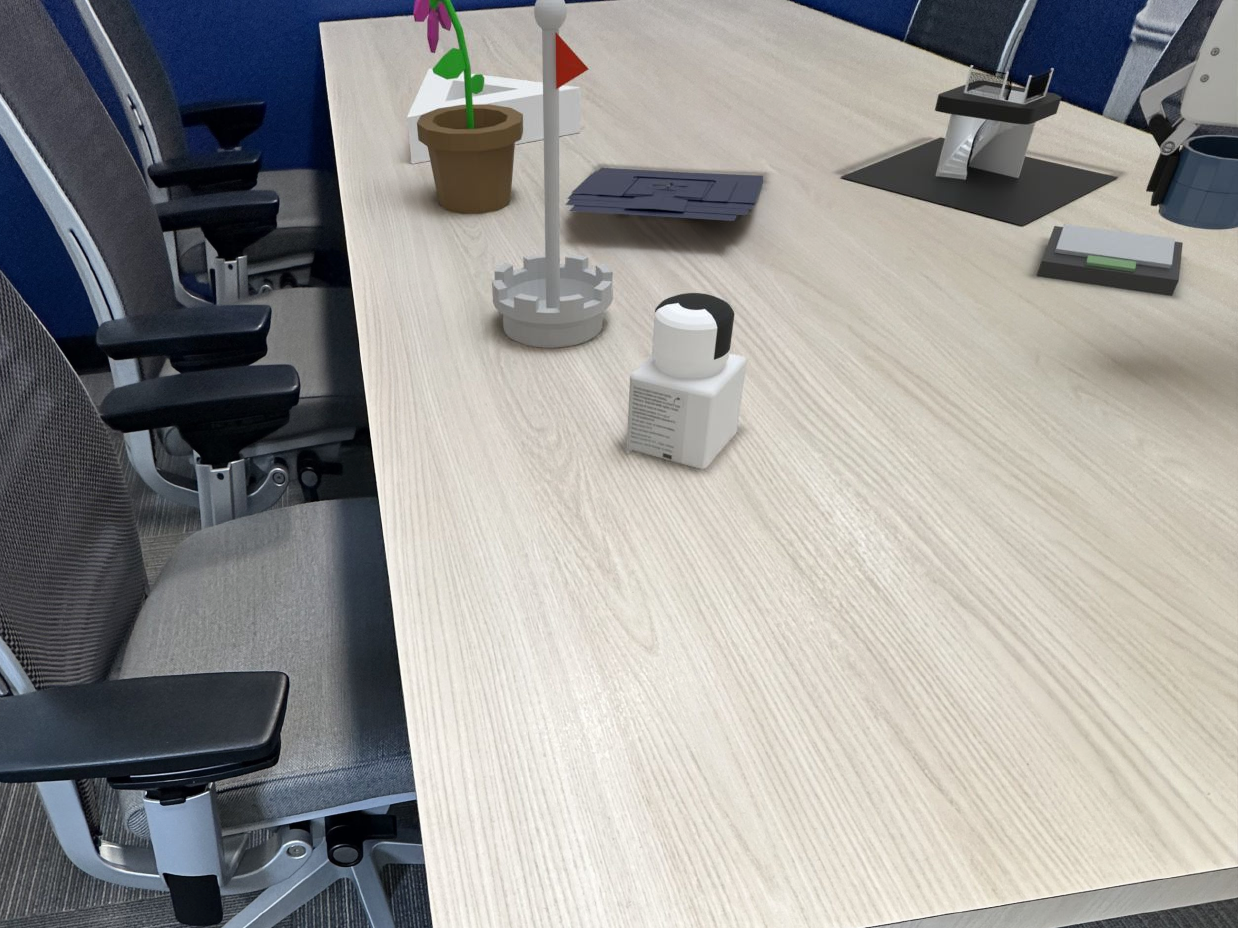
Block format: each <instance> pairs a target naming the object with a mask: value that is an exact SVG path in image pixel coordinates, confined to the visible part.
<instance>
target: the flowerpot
mask: <svg viewBox="0 0 1238 928" xmlns="http://www.w3.org/2000/svg"><path fill="white" fill-rule="evenodd" d="M412 15H413V19H414V20H413V21H414V22H415V23H424V22H425V21H426V38H427V39H426V40H427V43H428V47H429V50H430V53H431V54H436V52H437V47H438V44H439V41H440V35H439V34H440V26H441V28H442V29H444V30H446V31H449V32H450V31H451V29H452V26H453V28H454V31H455V35H456V39H457V44H458V48H457V47H456V48H455V47H452V48H451V49H449V50H448V51H447V52H445V53H444V54H443V56H442V57H441V58H440V59H439V60H438V61H437V63H436V64H435V65H434V67H432V69H433V73H434V74H436V75H438V76H441V77H443V78H445V79H455V78H458V77H459V76H460V74H461V73H462V72H463V73H464V84H465V100H466V105H457V106H451V107H445V108H438V109H436V110H433V111H430V112H428V113H425V114H423V115H421V116H420V118H419V120H418V122H417V130H418V140H419V141H420V142H422V143H423V144H424V145H426V146H427V147H428V152H429V157H430V161H429V162H430V166H431V171H432V176H433V180H434V181H433V182H434V185H435V191H436V195H437V201H438V205H439V206H440V207H441V208H442V209H444V210H445V211H449V212H454V213H458V214H485V213H491V212H495V211H499V210H501V209H503V208H505V207H507V206H509V205H510V202H511V199H512V186H513V175H514V174H513V173H514V161H515V149H516V148H515V147H516V145H515V142H517V141H519V140H521V138H522V134H523V114H521V113H520V112H518V111H516V110H514V109H512V108H509V107H503V106H496V105H490V104H480V105H473V101H472V93H474V94H478V93H480V92H482V91H483V86H484V77H483V75H484V74H479V73H478V74H477V73H474V74H475V75H474V76H473V77H471V74H472V70H471V62H470V58H469V52H468V48H467V43H466V37H465V33H464V29H463V26H462V24H461V21H460V19H459V17H458V15H457V13H456V10H455V8H454V6H453V3H452V1H451V0H414V5H413V14H412ZM426 19H427V20H426Z"/></svg>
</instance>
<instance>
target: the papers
mask: <svg viewBox="0 0 1238 928" xmlns="http://www.w3.org/2000/svg"><path fill="white" fill-rule="evenodd" d="M763 183H764V175H761V174H758V175H757V174H736V173H735V174H733V173H714V172H713V173H711V172H689V171H687V172H686V171H669V170H652V169H651V170H650V169H635V168H619V167H617V168H616V167H600V168H599V169H598V170H595V171H593V173H591V174H589V175H588V176H587V177H586V178H585V179H584V180H583V181H582V182H581V183H580V184H579V185H577V186H576V188H575V189H573V190H572V191H571V194H570V195H569V196H567V198H566V199H567V200H568V201H567V202H565V205H566V206H571V208H569V210H568V212H575V213H576V212H578V213H579V212H580V213H596V214H597V213H598V214H613V215H615V214H616V215H629V216H630V215H632V216H648V217H649V216H651V217H666V218H679V219H680V218H681V219H682V218H683V219H696V220H697V219H698V220H715V221H726V222H727V221H729V222H735V220H736V218H737V216H747V215H748V214H749V211H750V210H753V209H754V207H755V205H756V203H757V201H758V198H759V194H760V191H761V188H762V186H763Z"/></svg>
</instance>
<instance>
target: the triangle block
mask: <svg viewBox="0 0 1238 928" xmlns="http://www.w3.org/2000/svg"><path fill="white" fill-rule="evenodd" d="M475 74H476V73H471V77H473V76H474V75H475ZM482 75H483V77H484V86H483V91H482V92H480V93H478V94H474V93H472V101H473V105H480V104H490V105H496V106H503V107H509V108H512V109H514V110H516V111H518V112H520V113H521V114H523V134H522V138H521V140H519V141H517V142H515V146H516V145H520V144H521V145H522V144H526V143H531V142H536V141H542V140H543V141H544V126H543V82H541V81H532V80H525V79H517V78H509V77H503V76H502V77H501V76H493V75H485V74H482ZM581 96H582V95H581V87H579V86H572V85H566V84H564V85H563V86H561V87H560V88H559V137H563V136H568V135H574V134H579V133H581ZM457 105H466V100H465V84H464V71H463V72H462V73H461V74H460V76H459V77H458V78H455V79H445V78H443V77H441V76H438V75H436V74H434V73H433V67H432V68H430V67H429V68H428V69H427V72H426V74H425V77H424V78H423V81H422V83H421V85H420V88H419V89H418V92H417V93H416V96H415V99H414V100H413V102H412V105H411V106H410V108H409V109H410V110H409V112H408V114H407V116H406V122H407V131H408V142H409V152H410V161H411V165H415V164H421V163H425V162H430V157H429V152H428V147H427V146H426V145H424V144H423V143H422V142H420V141H419V140H418V130H417V122H418V120H419V118H420V116H421V115H423V114H425V113H428V112H430V111H433V110H436V109H438V108H445V107H451V106H457Z"/></svg>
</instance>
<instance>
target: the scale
mask: <svg viewBox="0 0 1238 928" xmlns="http://www.w3.org/2000/svg"><path fill="white" fill-rule="evenodd" d="M1183 244H1184V242H1181V241H1176V238H1175V237H1170V236H1169V237H1168V236H1160V235H1153V234H1146V233H1145V234H1144V233H1137V232H1129V231H1121V230H1114V229H1107V228H1099V227H1092V226H1091V227H1090V226H1084V225H1075V224H1068V223H1064V224H1063V226H1059V225H1054V226H1053V229H1052V231H1051V234H1050V237H1049V240H1048V242H1047V245H1046V248H1045V251H1044V253H1043V256H1042V259H1041V262H1040V265H1039V267H1038V271H1037V274H1036V277H1040V278H1047V279H1053V280H1061V281H1066V282H1074V283H1081V284H1086V285H1094V286H1101V287H1107V288H1113V289H1121V290H1128V291H1135V292H1140V293H1148V294H1154V295H1155V294H1157V295H1163V296H1168V297H1172V296H1173V294H1174V293H1175V290H1176V287H1177V285H1178V284H1179V281H1180V273H1181V264H1182V254H1183V246H1184V245H1183Z"/></svg>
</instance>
